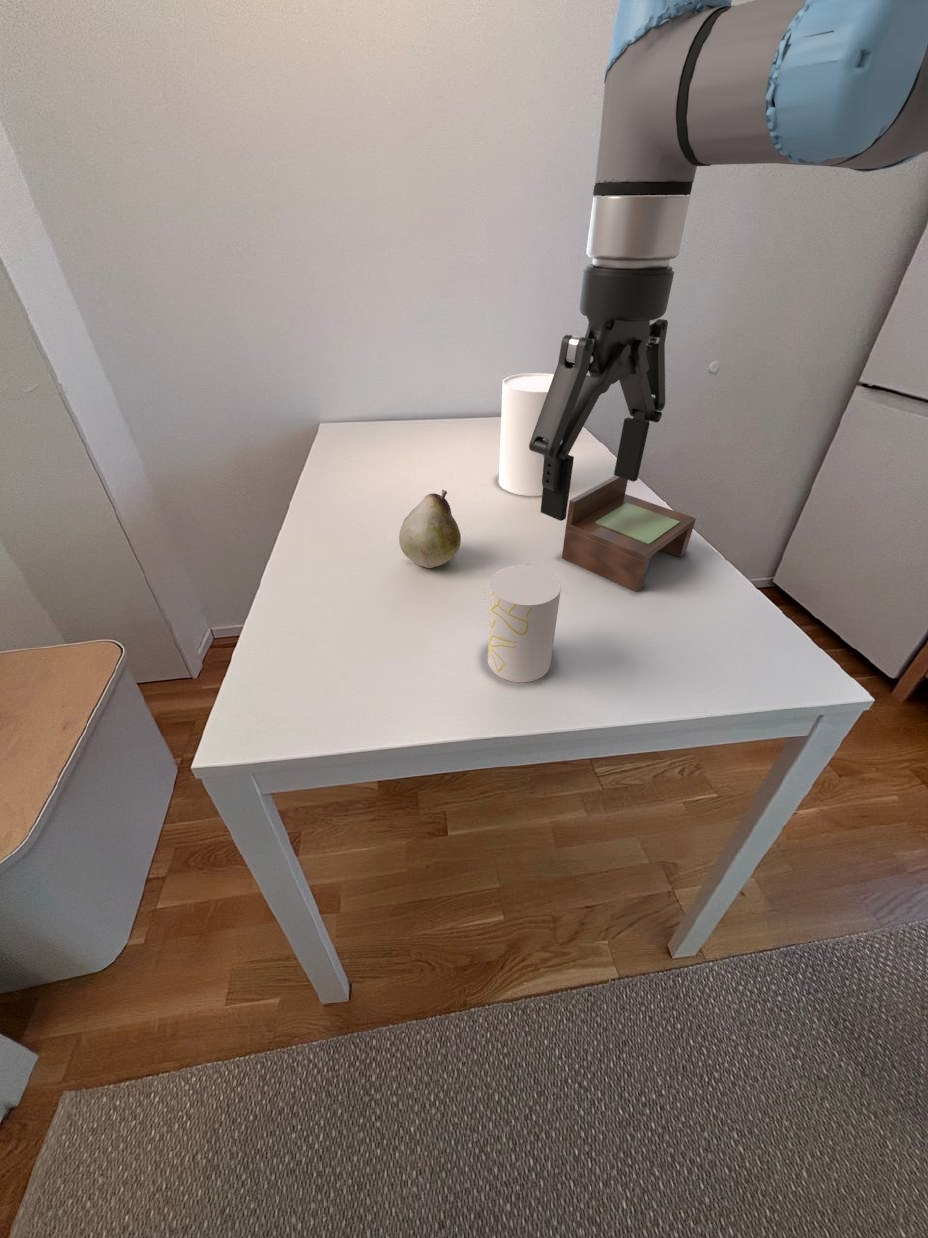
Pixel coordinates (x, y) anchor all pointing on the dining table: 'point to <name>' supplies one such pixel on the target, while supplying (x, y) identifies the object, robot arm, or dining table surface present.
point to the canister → (522, 432)
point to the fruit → (430, 532)
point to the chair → (621, 533)
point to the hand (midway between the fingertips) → (591, 495)
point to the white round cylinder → (522, 622)
